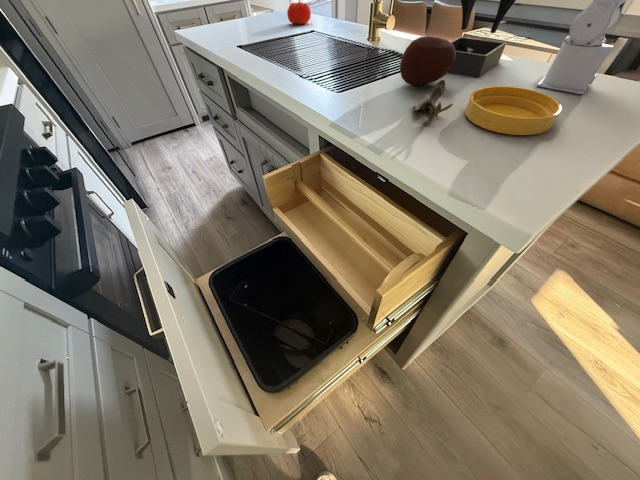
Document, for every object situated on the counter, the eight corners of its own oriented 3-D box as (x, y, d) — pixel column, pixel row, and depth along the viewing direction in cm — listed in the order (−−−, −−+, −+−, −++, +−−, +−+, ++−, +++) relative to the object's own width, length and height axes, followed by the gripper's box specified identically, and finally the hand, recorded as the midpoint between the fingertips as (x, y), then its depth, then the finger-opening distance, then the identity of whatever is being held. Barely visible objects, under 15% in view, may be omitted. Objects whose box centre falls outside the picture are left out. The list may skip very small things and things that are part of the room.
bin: (498, 63, 79) (506, 42, 75) (478, 77, 72) (486, 56, 68) (454, 56, 85) (460, 36, 81) (432, 68, 78) (437, 48, 74)
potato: (455, 89, 67) (471, 39, 59) (406, 96, 65) (416, 44, 58) (434, 75, 74) (445, 28, 66) (389, 80, 73) (395, 33, 65)
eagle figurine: (458, 120, 53) (450, 94, 58) (448, 90, 49) (441, 65, 53) (419, 137, 57) (415, 112, 62) (407, 112, 53) (403, 86, 57)
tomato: (286, 22, 130) (284, 2, 125) (308, 20, 132) (307, 0, 126) (290, 27, 123) (288, 5, 118) (313, 24, 125) (312, 3, 119)
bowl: (559, 115, 56) (570, 97, 53) (537, 146, 48) (549, 127, 46) (481, 97, 63) (487, 80, 61) (451, 121, 56) (457, 104, 53)
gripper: (463, -41, 63) (445, 30, 73) (531, -43, 56) (501, 36, 66) (474, -43, 67) (456, 25, 77) (540, -45, 60) (510, 31, 70)
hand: (478, 30), depth 72 cm, fingers open, 7 cm apart
